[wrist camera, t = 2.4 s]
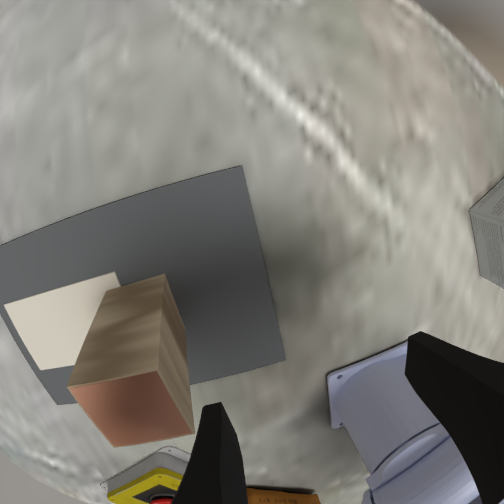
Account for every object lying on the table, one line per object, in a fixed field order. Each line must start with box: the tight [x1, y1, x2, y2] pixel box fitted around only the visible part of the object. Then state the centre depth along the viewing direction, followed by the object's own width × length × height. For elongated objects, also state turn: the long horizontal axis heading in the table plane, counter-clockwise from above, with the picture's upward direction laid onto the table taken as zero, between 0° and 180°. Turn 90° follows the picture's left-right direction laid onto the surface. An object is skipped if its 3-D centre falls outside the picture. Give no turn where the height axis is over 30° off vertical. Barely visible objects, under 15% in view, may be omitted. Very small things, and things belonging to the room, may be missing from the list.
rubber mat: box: [0, 166, 286, 405], centre depth 19 cm, size 20×14×1 cm
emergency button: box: [100, 446, 191, 504], centre depth 25 cm, size 9×4×15 cm
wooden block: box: [67, 274, 195, 447], centre depth 15 cm, size 4×4×9 cm
